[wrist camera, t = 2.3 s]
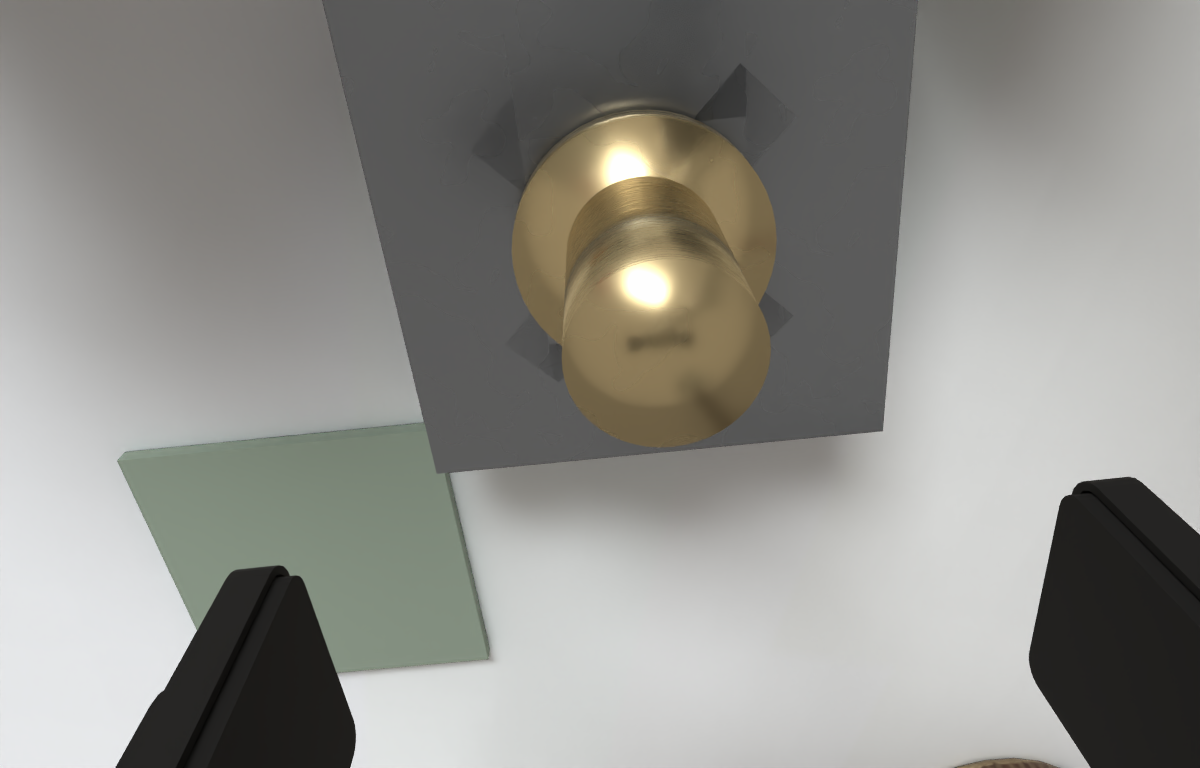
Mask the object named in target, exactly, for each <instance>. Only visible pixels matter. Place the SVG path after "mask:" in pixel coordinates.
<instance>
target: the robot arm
mask: <svg viewBox="0 0 1200 768" xmlns="http://www.w3.org/2000/svg"><path fill="white" fill-rule="evenodd" d="M1029 664H1030V668H1031V673H1032V675H1033V678H1034V680H1035V682H1036V684H1037V686H1038V687H1039V689H1040V690H1041V692H1042V694H1043V695H1044V697H1045V698H1046V700H1047V701H1048V703H1049V704H1050V706H1051V707H1052V709H1053V710H1054V712H1055V714H1056V715H1057V717H1058V718H1059V720H1060V721H1061V723H1062V724H1063V726H1064V727H1065V729H1066V730H1067V732H1068V733H1069V735H1070V737H1071V738H1072V740H1073V741H1074V743H1075V744H1076V746H1077V747H1078V749H1079V750H1080V752H1081V753H1082V755H1083V756H1084V758H1085V760H1086V761H1087V763H1088V764H1089V766H1090V767H1091V768H1200V535H1199V534H1198V533H1197V532H1196V531H1195V530H1194V529H1193V528H1192V527H1191V526H1189V525H1188V524H1187V523H1186V522H1185V521H1184V520H1183V519H1182V518H1181V517H1180V516H1178V515H1177V514H1176V513H1175V512H1174V511H1173V510H1172V509H1171V508H1170V507H1168V506H1167V505H1166V504H1165V503H1164V502H1163V501H1162V500H1161V499H1160V498H1158V497H1157V496H1156V495H1155V494H1154V493H1153V492H1152V491H1151V490H1150V489H1148V488H1147V487H1146V486H1145V485H1144V484H1143V483H1142V482H1140V481H1139V480H1137V479H1136V478H1131V477H1122V478H1113V479H1103V480H1093V481H1084V482H1081V483H1078V484H1077V485H1076V487H1075V488H1074V489H1073V492H1072V495H1068V496H1065V497H1064V498H1063V499H1062V500H1061V503H1060V506H1059V511H1058V516H1057V520H1056V525H1055V530H1054V535H1053V540H1052V545H1051V550H1050V554H1049V559H1048V564H1047V569H1046V574H1045V579H1044V583H1043V588H1042V593H1041V598H1040V603H1039V608H1038V613H1037V617H1036V622H1035V627H1034V632H1033V637H1032V642H1031V646H1030V651H1029ZM355 743H356V731H355V724H354V720H353V717H352V715H351V712H350V709H349V706H348V703H347V701H346V698H345V695H344V692H343V689H342V687H341V684H340V681H339V678H338V675H337V673H336V670H335V667H334V664H333V661H332V659H331V656H330V653H329V650H328V647H327V645H326V642H325V639H324V636H323V633H322V631H321V628H320V625H319V622H318V619H317V617H316V614H315V611H314V608H313V605H312V603H311V600H310V597H309V594H308V591H307V589H306V586H305V583H304V581H303V579H302V578H301V577H300V576H297V575H295V576H290V574H289V572H288V570H287V569H286V568H285V567H284V566H280V565H276V566H266V567H256V568H247V569H237V570H234V571H232V572H231V573H230V574H229V575H228V577H227V578H226V580H225V581H224V583H223V585H222V587H221V589H220V590H219V592H218V594H217V596H216V598H215V599H214V601H213V603H212V605H211V607H210V608H209V610H208V612H207V614H206V616H205V617H204V619H203V621H202V623H201V625H200V627H199V628H198V630H197V632H196V634H195V636H194V637H193V639H192V641H191V643H190V645H189V646H188V648H187V650H186V652H185V654H184V655H183V657H182V659H181V661H180V663H179V664H178V666H177V668H176V670H175V672H174V673H173V675H172V677H171V679H170V681H169V682H168V684H167V686H166V688H165V690H164V691H163V692H161V693H160V694H159V695H158V696H157V697H156V699H155V700H154V701H153V703H152V704H151V706H150V707H149V709H148V711H147V712H146V714H145V716H144V718H143V719H142V721H141V723H140V725H139V727H138V728H137V730H136V732H135V734H134V736H133V737H132V739H131V741H130V743H129V744H128V746H127V748H126V750H125V752H124V753H123V755H122V757H121V759H120V760H119V762H118V764H117V766H116V768H350V767H351V763H352V759H353V755H354V751H355Z"/></svg>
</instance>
